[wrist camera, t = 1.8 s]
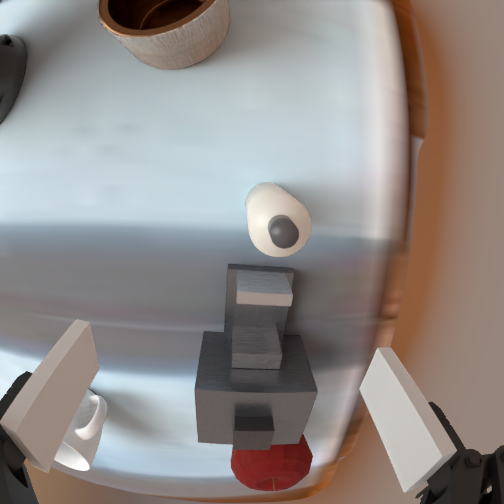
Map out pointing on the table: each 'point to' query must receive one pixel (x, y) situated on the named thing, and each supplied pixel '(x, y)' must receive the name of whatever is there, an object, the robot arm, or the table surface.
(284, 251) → the white bottle
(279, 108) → the table surface
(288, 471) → the apple
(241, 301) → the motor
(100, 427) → the mug
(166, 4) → the planter
